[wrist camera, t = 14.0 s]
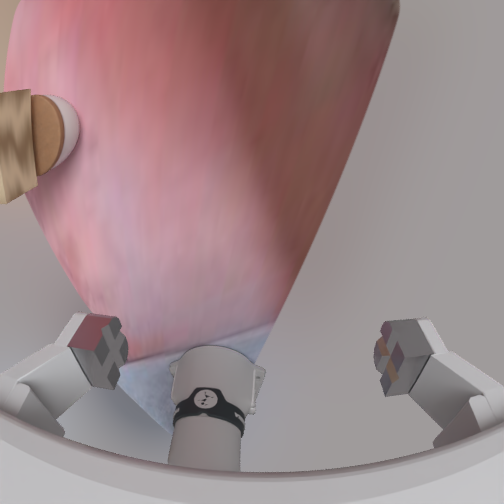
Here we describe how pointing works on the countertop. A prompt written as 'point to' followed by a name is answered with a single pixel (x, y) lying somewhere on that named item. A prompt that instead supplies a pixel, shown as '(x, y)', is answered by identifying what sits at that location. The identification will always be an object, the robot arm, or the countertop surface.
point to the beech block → (16, 145)
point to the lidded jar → (52, 131)
